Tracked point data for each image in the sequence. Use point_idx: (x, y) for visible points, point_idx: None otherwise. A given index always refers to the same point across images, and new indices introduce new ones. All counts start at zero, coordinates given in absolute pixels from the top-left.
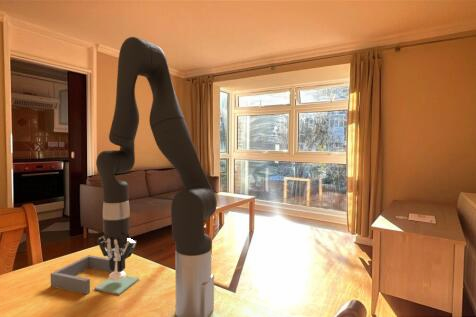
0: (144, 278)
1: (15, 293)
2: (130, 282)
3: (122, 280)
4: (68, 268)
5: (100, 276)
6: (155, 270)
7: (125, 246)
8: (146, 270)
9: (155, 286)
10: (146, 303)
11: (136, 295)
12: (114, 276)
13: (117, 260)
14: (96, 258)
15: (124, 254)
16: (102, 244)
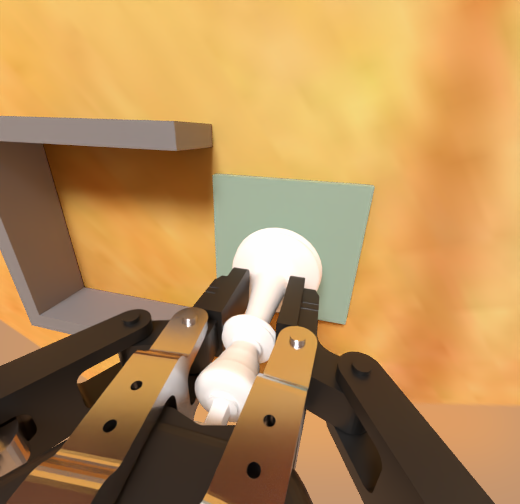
0: (398, 155)
1: (44, 335)
2: (346, 239)
3: (291, 228)
4: (28, 264)
5: (155, 199)
6: (439, 4)
7: (296, 440)
8: (360, 37)
9: (514, 226)
10: (506, 359)
11: (427, 313)
12: (279, 307)
13: (268, 358)
14: (18, 141)
15: (354, 463)
16: (40, 448)
